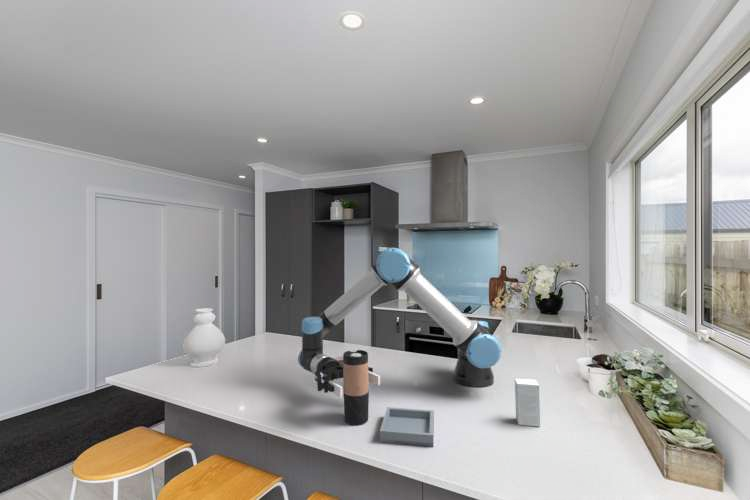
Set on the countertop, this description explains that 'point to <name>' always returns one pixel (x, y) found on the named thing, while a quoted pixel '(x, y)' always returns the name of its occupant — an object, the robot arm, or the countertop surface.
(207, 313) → the decorative vase
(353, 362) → the travel mug
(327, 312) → the robot arm
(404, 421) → the tray
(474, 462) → the countertop surface
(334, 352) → the countertop surface
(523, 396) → the skincare box
